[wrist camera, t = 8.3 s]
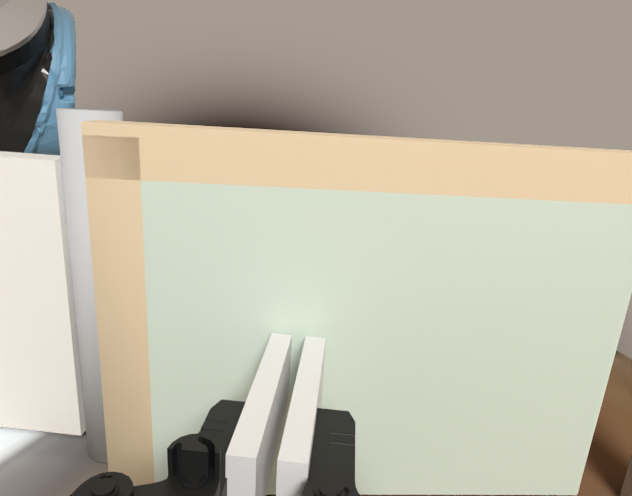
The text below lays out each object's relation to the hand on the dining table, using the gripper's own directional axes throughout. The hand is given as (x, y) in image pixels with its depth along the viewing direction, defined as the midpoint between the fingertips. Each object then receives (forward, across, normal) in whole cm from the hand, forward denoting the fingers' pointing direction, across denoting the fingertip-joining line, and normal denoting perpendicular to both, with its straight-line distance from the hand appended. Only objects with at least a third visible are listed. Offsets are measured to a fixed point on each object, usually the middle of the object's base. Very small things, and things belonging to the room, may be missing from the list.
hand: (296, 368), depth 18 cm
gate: (+2, +2, -6) cm, 7 cm away
